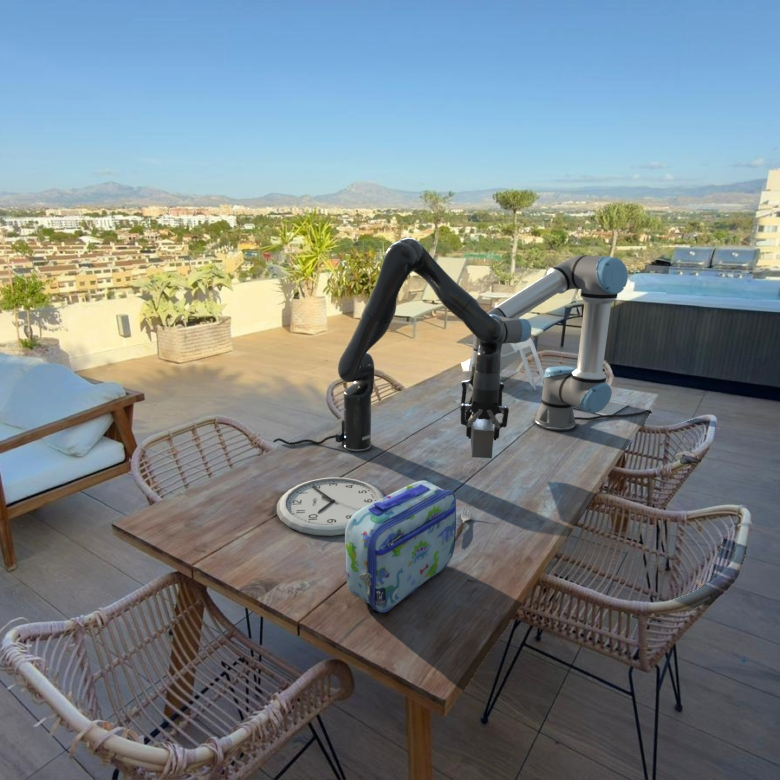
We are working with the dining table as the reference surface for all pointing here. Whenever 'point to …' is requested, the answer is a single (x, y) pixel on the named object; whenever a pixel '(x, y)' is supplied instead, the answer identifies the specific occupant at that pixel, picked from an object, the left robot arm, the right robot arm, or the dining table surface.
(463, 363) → the white plastic object
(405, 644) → the dining table surface
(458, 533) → the fork
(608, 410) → the invitation card
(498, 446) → the dining table surface
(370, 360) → the left robot arm
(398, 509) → the lunch box
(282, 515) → the wall clock
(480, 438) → the box
